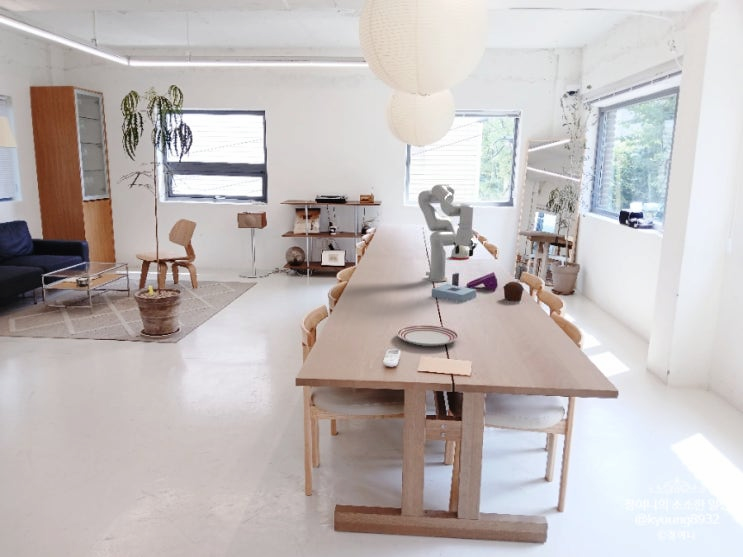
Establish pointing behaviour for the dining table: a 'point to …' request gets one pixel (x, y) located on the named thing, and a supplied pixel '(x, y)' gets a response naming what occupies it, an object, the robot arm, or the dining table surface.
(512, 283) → the muffin
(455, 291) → the well block
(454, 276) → the steel bracket
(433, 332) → the dinner plate
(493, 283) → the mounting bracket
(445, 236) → the robot arm
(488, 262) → the dining table surface
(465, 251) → the kitchen timer
